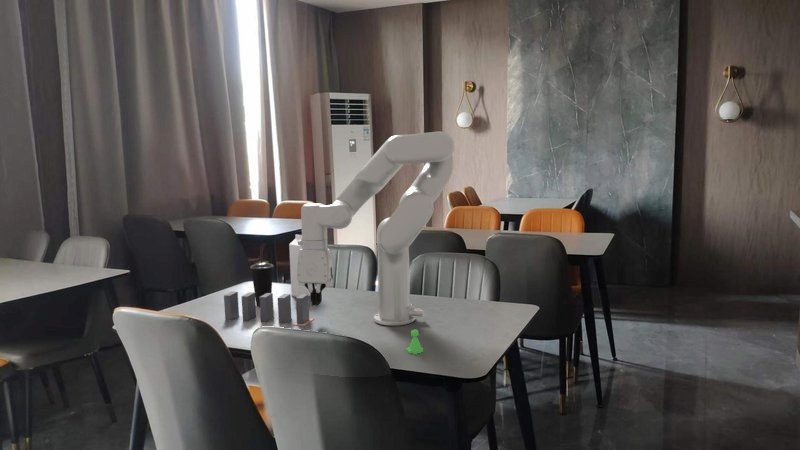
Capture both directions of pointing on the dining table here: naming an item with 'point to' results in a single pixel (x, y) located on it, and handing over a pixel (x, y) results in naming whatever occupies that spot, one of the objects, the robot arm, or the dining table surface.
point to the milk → (294, 252)
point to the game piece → (415, 343)
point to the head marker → (304, 323)
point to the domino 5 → (302, 308)
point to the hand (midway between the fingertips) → (316, 304)
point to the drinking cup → (262, 278)
